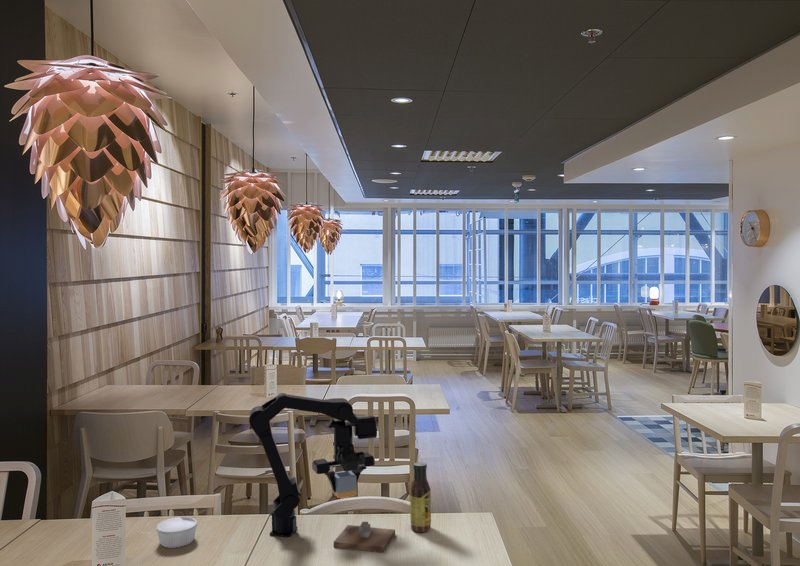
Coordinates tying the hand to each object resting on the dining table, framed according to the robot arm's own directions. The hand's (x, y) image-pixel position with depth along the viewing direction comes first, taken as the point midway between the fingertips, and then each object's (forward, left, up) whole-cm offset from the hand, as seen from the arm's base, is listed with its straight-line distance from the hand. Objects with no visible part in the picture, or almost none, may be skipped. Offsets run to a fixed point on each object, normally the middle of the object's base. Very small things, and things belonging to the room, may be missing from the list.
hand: (344, 490), depth 196 cm
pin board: (+9, -9, -11) cm, 17 cm away
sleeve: (0, 0, -1) cm, 1 cm away
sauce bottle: (+23, +3, -11) cm, 26 cm away
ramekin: (-45, -22, -11) cm, 51 cm away
